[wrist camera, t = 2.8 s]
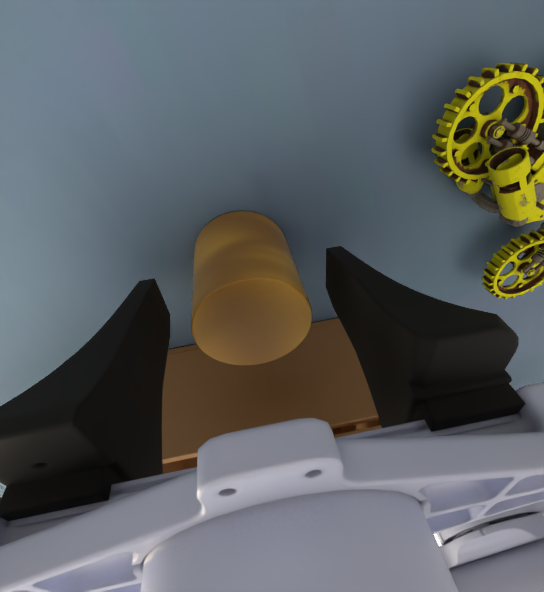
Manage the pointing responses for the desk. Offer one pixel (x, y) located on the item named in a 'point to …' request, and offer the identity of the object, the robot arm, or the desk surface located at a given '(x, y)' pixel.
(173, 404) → the toy box
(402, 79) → the desk surface
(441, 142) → the toy motorcycle
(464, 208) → the desk surface
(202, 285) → the cylinder
